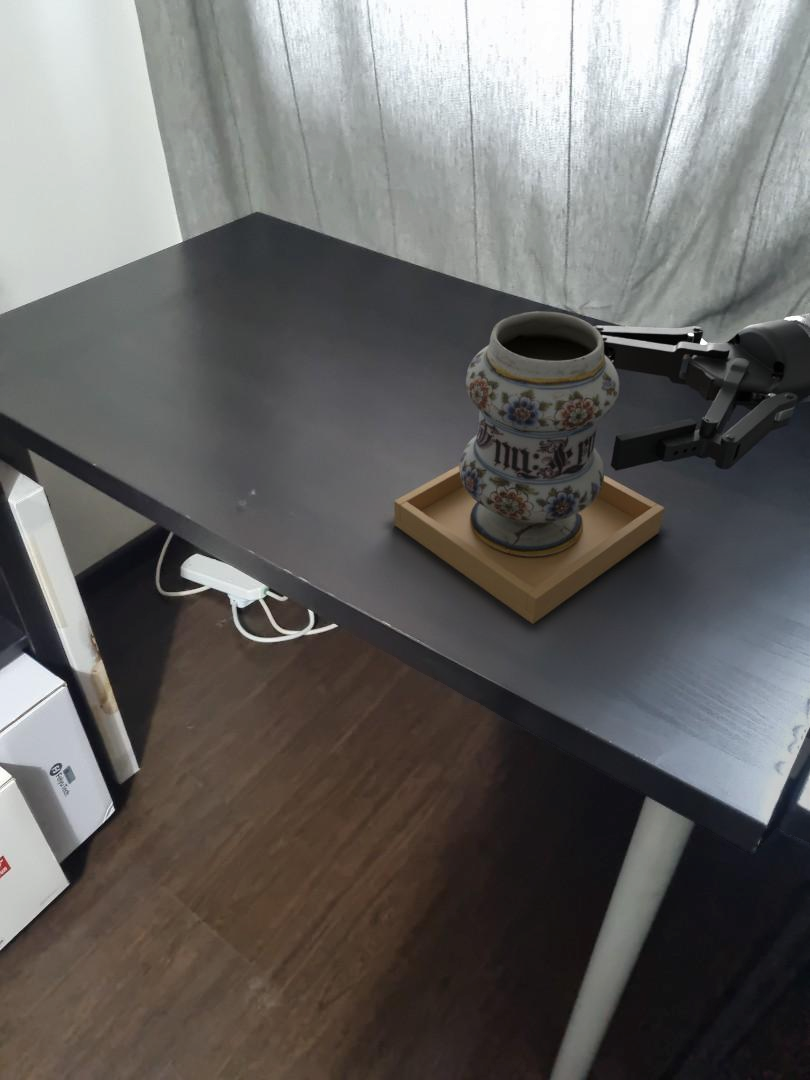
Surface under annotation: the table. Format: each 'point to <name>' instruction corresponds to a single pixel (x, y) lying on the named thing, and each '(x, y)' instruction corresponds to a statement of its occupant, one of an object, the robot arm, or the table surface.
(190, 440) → the table surface
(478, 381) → the apothecary jar
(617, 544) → the tray
